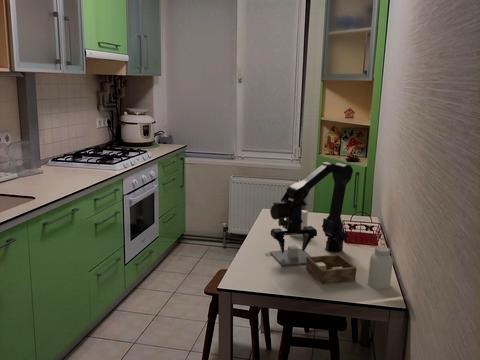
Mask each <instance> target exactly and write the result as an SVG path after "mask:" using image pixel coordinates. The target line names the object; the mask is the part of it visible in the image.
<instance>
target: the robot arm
mask: <svg viewBox="0 0 480 360" xmlns="http://www.w3.org/2000/svg"><path fill="white" fill-rule="evenodd" d="M331 173H332V175H331V176H332V179H333V182H334V185H333V191H332V196H331V202H330V207H329V214H328V216H326V218H323V219H322V225H321V228H322V231H323V233H324V235H325V237H326V238H327V240H326V242H325V248H324V250H325V251H326V252H330V253H340V252H344V253H345V251H343V249H344V242H345V241H347V238H348V235H347V234H346V233H345V232H344V229H343V225H344V224H343V221H342V217H341V216H342V211H343V205H344V200H345V194H346V188H347V185H348V184H349V183H350V182H351V180H352V177H353V173H354V168H353V166H351V165H350V164H346V163H342V162H337V163H331V162H328V161H325V162H322V163H321V165H320V166H319V167H317V168H316V169H315V170H313V171H312V172H311V173H309V174H308V176H306V177H305V178H303V179H302V180H301V181H298V182H294V183H293V184H290V185H289V186H288V187H287V188H286V191H285V193H284V194H283V196H282V198H281V199H280V202H273V205H272V206H271V208H270V216H271V218H272V219H273V220H278V221H277V223H278V227H279V228H277V227H276V228H272V229H271V230H270V236H271V237H272V238H273V239H274V240H276V241H277V243H278V244H279V247H280V250H281V251H282V253H284V250H285V241H286V240H285V236H291V235H296V234H303V237H302V244H301V246H302V247H301V249H302V251H304V250H305V251H306V249H307V247H308V245H309V243H310V242H311V240H312V239H314V238H315V237H318V231H317V229H316V228H315V227H314V226H312V225H309V226H308V225H307V226H305V227H304V228H303V229H301V223H303V220H302V210H303V206H304V207H305V206H307V205H308V203H307V202H305V199H306V197H308V195H309V193H310V191H311V190H312V188H314V187H315V186H317V185H318V184H319V182H321V181H323V180H324V179H325V178H326V177H327V176H328V175H329V174H331ZM280 227H282V228H283V229H285V230H282V228H280Z"/></svg>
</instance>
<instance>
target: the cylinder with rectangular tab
mask: <svg viewBox="0 0 480 360" xmlns="http://www.w3.org/2000/svg"><path fill="white" fill-rule="evenodd" d="M308 215H309V211H308V210H304V209H302V220H303V223H301V229H303V228H304V227H305V226H308ZM290 236H292V237H295V238H296V237H297V238H300V237H301V238H303V237H302V236H303V234H296V235H290Z"/></svg>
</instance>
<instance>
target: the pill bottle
mask: <svg viewBox="0 0 480 360" xmlns="http://www.w3.org/2000/svg"><path fill="white" fill-rule="evenodd" d="M390 254H391V249H390V248H389V247H386V246H382V245H380V246H375V248H374V253H373V254H371V256H370V259H369V266H368V268H369V269H368V277H367V285H368V286H369V287H371V288H373V289H376V290H388V289H390V287H391V279H392V271H393V262H394V261H393V260H394V259H393V257H392V256H391V255H390Z"/></svg>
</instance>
